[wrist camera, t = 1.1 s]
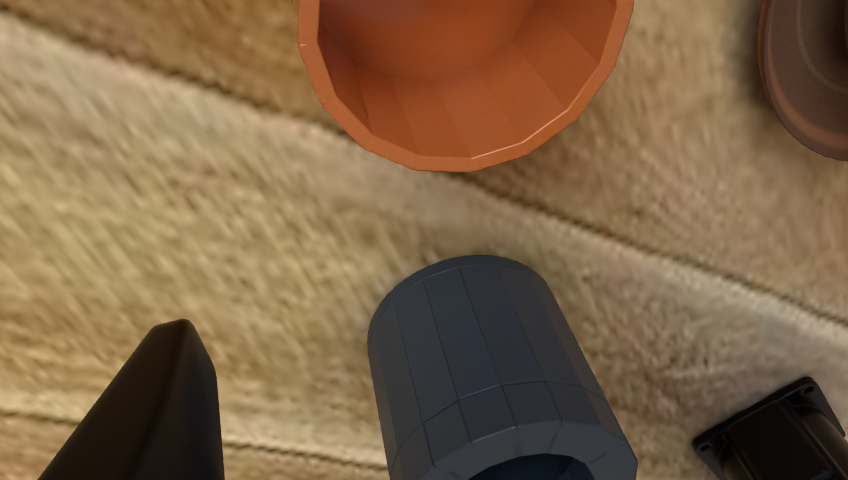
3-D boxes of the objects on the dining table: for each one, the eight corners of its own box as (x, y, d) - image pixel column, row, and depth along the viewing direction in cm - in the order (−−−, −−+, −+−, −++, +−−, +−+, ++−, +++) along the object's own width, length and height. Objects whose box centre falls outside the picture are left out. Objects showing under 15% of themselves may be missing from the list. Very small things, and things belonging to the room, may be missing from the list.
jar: (587, 326, 28) (674, 488, 22) (439, 420, 30) (484, 593, 24) (490, 217, 24) (567, 383, 18) (325, 334, 25) (345, 519, 20)
